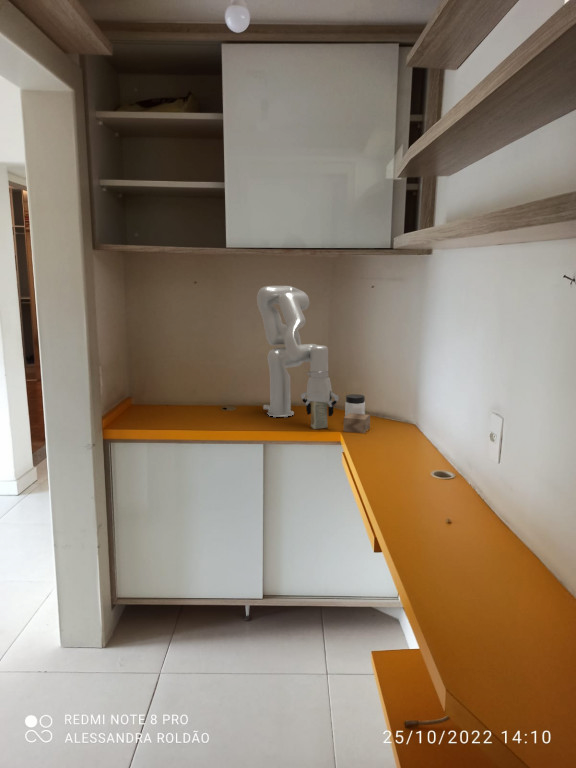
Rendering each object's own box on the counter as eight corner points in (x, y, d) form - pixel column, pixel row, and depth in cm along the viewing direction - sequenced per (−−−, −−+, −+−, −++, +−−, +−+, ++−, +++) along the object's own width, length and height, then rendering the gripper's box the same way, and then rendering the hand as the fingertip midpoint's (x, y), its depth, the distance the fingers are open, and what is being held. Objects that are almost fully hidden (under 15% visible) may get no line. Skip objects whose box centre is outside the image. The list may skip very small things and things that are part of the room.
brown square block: (343, 431, 229) (343, 417, 228) (349, 426, 237) (349, 413, 236) (364, 433, 225) (365, 419, 224) (369, 428, 234) (370, 414, 233)
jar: (368, 423, 242) (369, 396, 240) (355, 426, 237) (356, 398, 235) (354, 419, 249) (354, 393, 247) (341, 422, 244) (341, 395, 242)
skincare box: (324, 425, 238) (324, 398, 236) (327, 428, 234) (327, 400, 232) (310, 426, 236) (310, 399, 234) (313, 429, 232) (313, 401, 230)
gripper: (296, 375, 231) (297, 415, 234) (335, 377, 224) (336, 418, 227) (304, 373, 238) (304, 411, 241) (341, 374, 231) (342, 414, 233)
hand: (319, 414), depth 234 cm, fingers open, 9 cm apart
